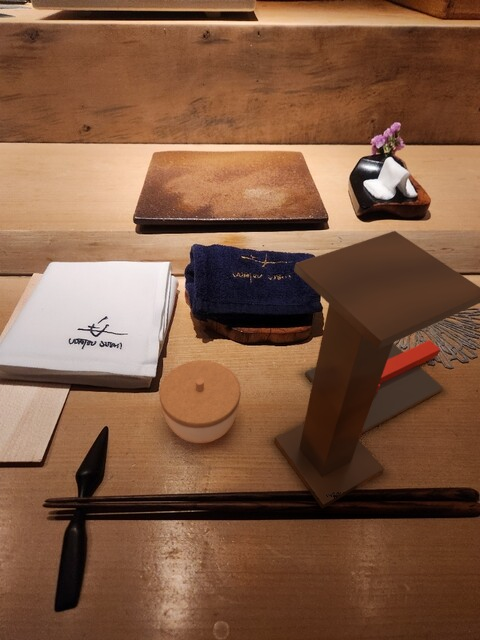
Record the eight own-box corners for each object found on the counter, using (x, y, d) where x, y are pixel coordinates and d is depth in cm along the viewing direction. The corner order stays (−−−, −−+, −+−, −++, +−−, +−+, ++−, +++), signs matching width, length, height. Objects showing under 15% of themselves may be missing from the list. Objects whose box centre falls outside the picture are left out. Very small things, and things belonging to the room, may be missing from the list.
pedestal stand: (401, 466, 62) (488, 292, 42) (324, 512, 57) (381, 340, 37) (344, 403, 69) (394, 230, 49) (272, 439, 64) (295, 263, 44)
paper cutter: (442, 391, 72) (443, 387, 71) (358, 436, 65) (359, 432, 65) (384, 339, 80) (385, 335, 79) (304, 374, 73) (305, 371, 73)
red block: (442, 359, 75) (445, 353, 74) (347, 406, 68) (349, 400, 67) (422, 342, 78) (425, 336, 77) (328, 386, 71) (330, 379, 70)
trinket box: (149, 420, 66) (141, 378, 60) (207, 382, 72) (205, 340, 65) (195, 472, 60) (192, 431, 54) (254, 426, 66) (258, 384, 59)
